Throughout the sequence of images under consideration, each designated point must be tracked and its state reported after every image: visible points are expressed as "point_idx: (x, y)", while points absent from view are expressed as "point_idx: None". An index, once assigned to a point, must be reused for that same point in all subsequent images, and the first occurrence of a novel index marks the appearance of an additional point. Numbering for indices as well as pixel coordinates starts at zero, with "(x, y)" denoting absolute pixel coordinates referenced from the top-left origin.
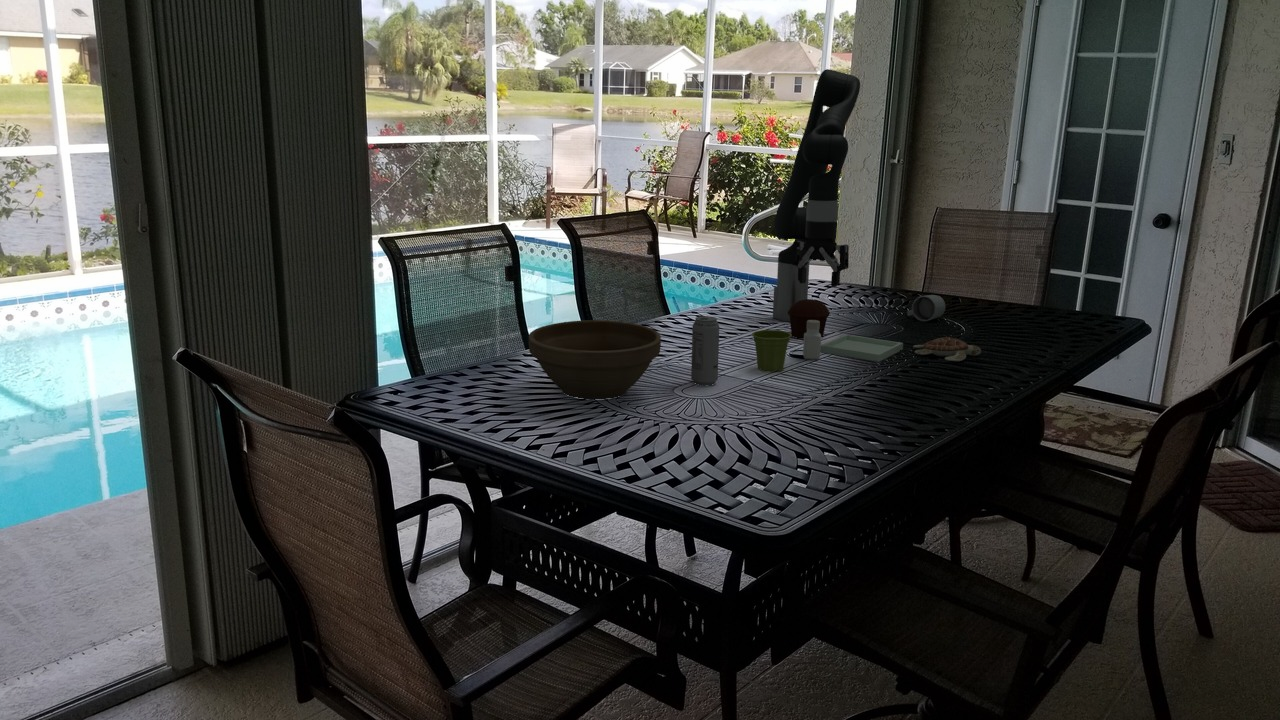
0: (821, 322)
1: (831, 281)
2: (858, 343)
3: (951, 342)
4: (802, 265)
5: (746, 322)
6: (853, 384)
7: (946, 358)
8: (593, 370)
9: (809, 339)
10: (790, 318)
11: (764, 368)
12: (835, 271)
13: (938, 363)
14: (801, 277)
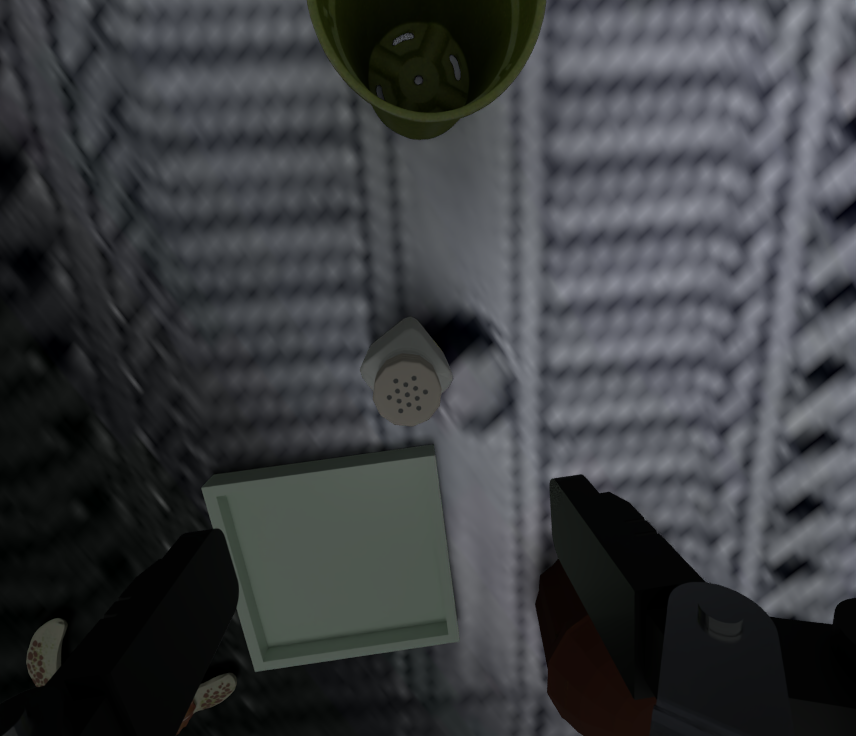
0: (551, 637)
1: (187, 561)
2: (391, 605)
3: None
4: (674, 638)
5: (839, 598)
6: (55, 129)
7: (56, 623)
8: None
9: (396, 334)
10: None
11: (411, 13)
12: (25, 696)
13: (78, 590)
14: (585, 508)
